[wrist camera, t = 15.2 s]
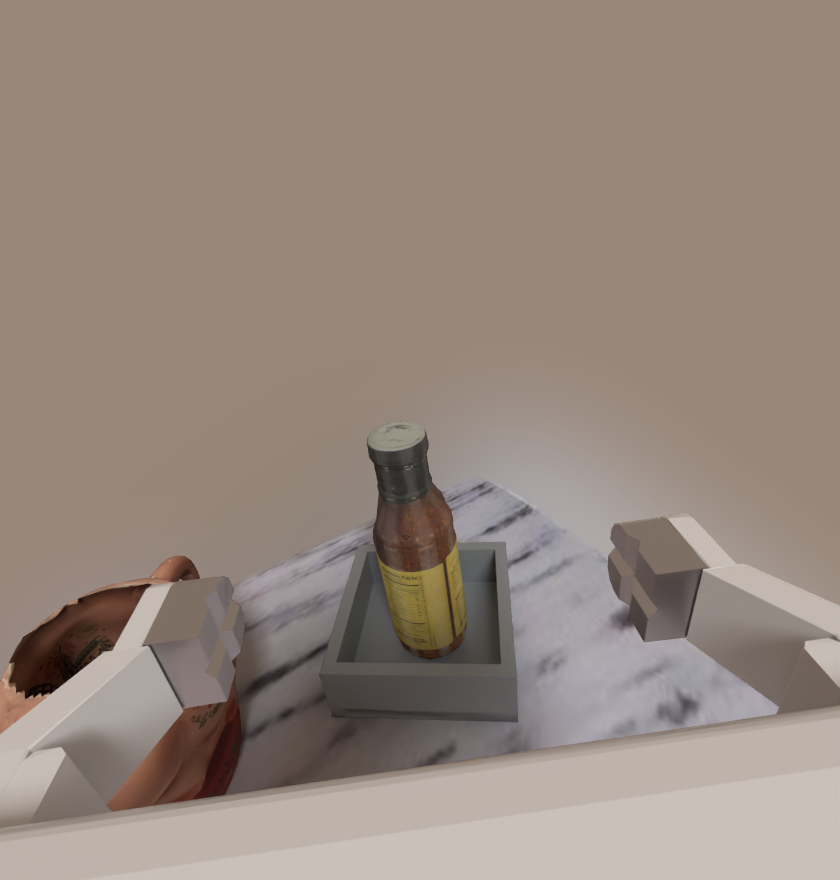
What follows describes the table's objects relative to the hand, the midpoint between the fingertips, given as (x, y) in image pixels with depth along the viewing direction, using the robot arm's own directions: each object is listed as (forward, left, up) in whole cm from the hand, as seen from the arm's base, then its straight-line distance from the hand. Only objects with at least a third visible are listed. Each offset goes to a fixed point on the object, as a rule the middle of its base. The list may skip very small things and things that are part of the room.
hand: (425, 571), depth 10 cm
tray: (-4, +21, -28) cm, 36 cm away
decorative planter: (-22, +11, -29) cm, 38 cm away
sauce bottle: (-4, +21, -28) cm, 35 cm away
